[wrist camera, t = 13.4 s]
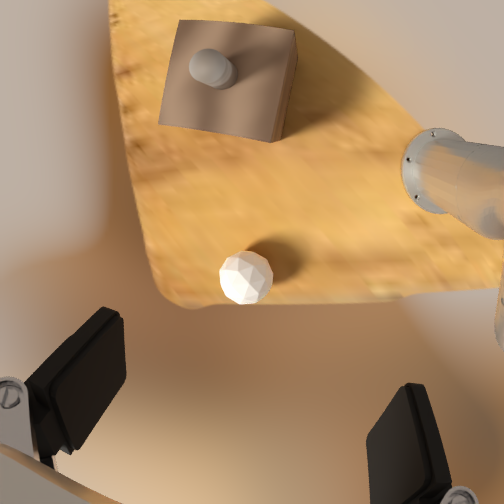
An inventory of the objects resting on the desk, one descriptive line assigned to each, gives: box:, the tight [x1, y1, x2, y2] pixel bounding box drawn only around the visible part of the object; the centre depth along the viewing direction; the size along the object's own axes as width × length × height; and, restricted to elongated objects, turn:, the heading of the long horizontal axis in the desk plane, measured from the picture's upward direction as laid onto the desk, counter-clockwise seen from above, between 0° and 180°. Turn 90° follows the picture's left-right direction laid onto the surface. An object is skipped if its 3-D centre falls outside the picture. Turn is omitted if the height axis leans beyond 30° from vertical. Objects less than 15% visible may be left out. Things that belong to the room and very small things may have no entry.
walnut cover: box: [158, 20, 298, 143], centre depth 33 cm, size 12×12×18 cm
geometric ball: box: [220, 251, 273, 304], centre depth 47 cm, size 8×8×8 cm
